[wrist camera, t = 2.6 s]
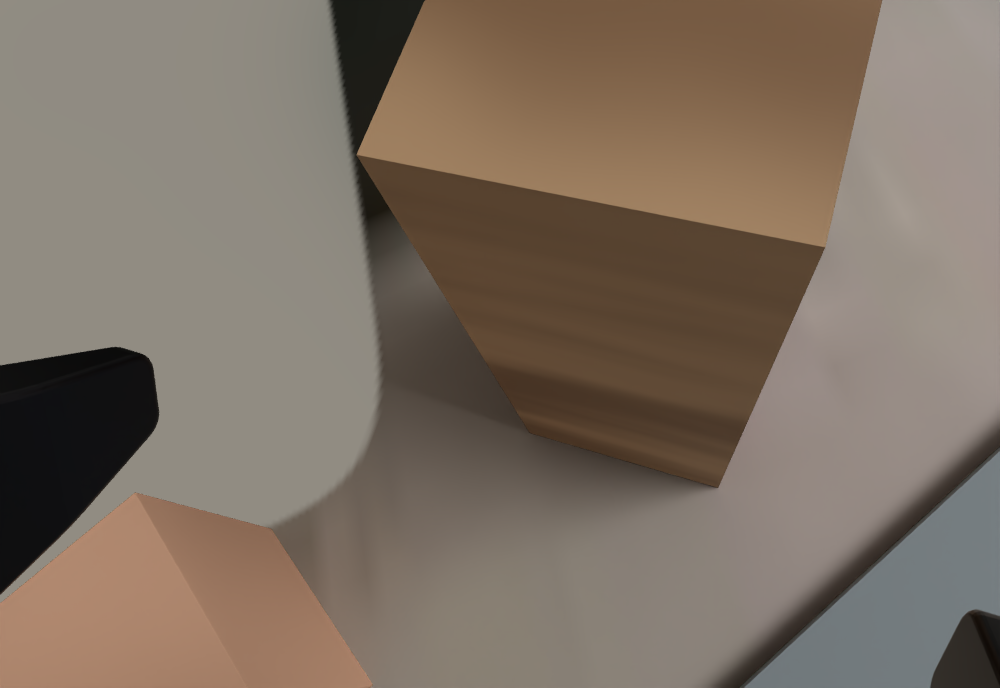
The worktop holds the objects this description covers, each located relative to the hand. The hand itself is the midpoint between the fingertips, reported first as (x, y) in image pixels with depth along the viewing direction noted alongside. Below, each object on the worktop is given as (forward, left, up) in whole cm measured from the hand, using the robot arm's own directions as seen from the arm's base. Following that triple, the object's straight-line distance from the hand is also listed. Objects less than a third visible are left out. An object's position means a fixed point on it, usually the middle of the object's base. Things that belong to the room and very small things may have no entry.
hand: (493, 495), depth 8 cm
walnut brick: (+5, +3, -12) cm, 13 cm away
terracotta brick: (-8, +4, -12) cm, 15 cm away
